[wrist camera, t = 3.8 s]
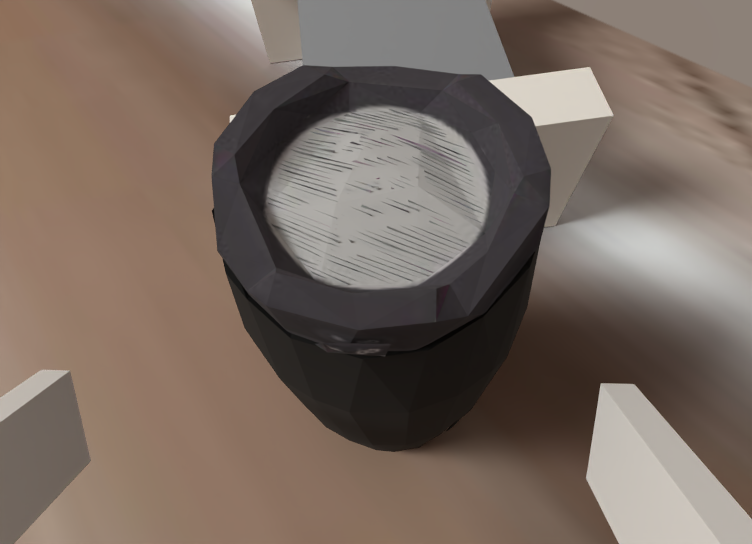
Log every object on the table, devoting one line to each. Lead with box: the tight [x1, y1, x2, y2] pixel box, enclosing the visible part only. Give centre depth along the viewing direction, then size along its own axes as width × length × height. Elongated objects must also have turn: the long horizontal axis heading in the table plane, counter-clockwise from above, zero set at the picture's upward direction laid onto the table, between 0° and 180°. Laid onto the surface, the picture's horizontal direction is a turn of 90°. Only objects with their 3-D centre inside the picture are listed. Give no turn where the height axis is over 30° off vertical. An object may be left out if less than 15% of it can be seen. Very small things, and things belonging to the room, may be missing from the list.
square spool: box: [230, 0, 614, 227], centre depth 33 cm, size 22×19×10 cm
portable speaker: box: [212, 65, 551, 452], centre depth 19 cm, size 9×9×20 cm
